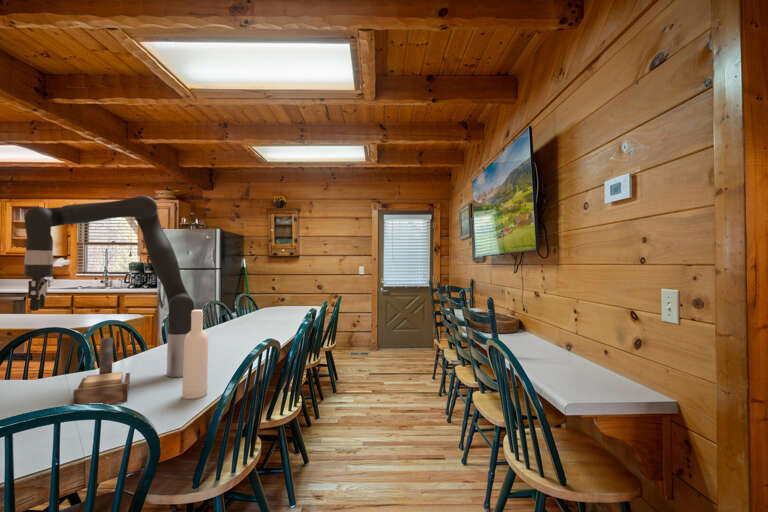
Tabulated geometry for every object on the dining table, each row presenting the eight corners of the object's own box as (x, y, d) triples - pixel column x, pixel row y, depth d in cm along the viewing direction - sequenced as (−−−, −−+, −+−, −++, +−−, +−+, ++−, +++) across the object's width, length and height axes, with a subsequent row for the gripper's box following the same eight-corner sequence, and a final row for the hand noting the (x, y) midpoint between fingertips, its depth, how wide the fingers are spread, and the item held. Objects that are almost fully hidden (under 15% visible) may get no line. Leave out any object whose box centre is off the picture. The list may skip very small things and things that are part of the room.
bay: (129, 384, 143) (130, 368, 143) (127, 401, 126) (127, 383, 126) (82, 390, 135) (83, 373, 135) (73, 409, 118) (73, 390, 119)
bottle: (194, 400, 128) (196, 312, 128) (176, 397, 131) (179, 310, 131) (212, 393, 135) (214, 309, 136) (195, 390, 138) (197, 308, 139)
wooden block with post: (122, 385, 138) (124, 336, 138) (120, 396, 127) (122, 343, 128) (87, 390, 133) (89, 338, 133) (82, 401, 122) (84, 346, 122)
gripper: (48, 263, 130) (46, 311, 129) (56, 263, 142) (55, 306, 141) (18, 263, 126) (17, 312, 125) (30, 263, 138) (28, 307, 137)
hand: (37, 309), depth 133 cm, fingers open, 8 cm apart
